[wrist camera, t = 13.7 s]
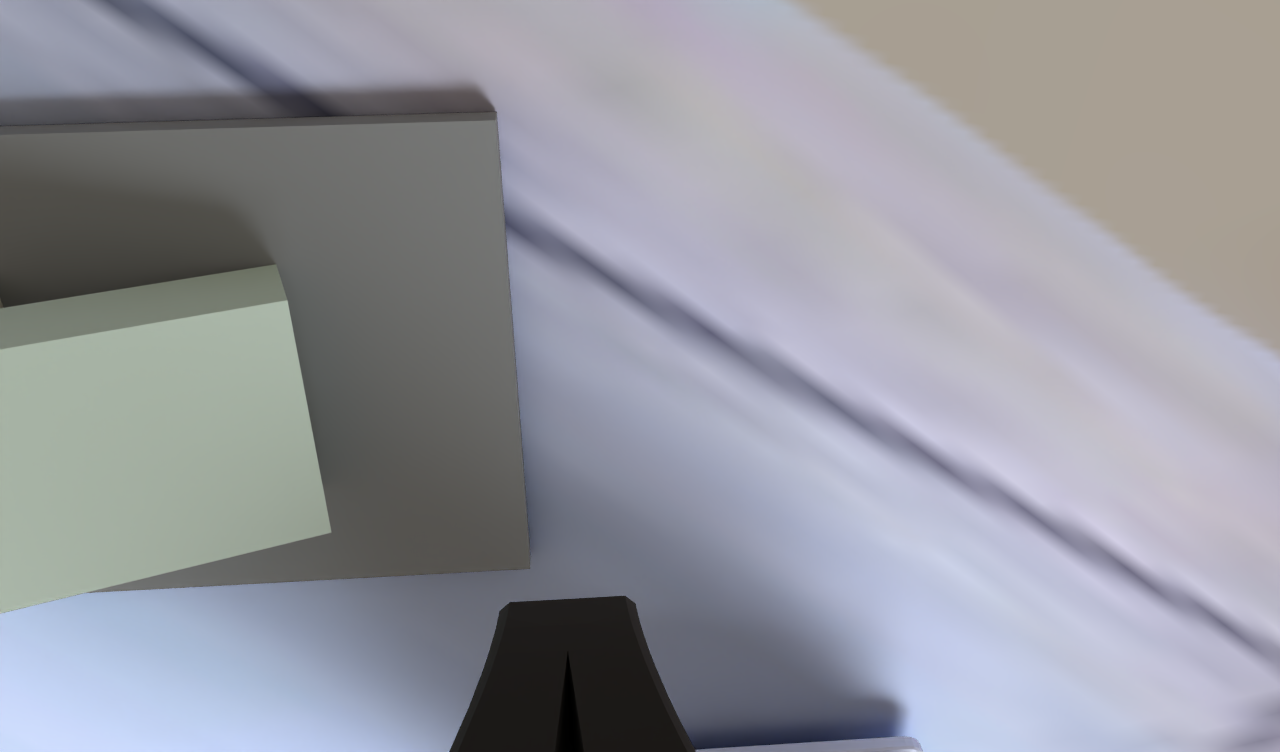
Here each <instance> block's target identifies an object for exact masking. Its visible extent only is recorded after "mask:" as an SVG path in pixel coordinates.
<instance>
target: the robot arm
mask: <svg viewBox="0 0 1280 752" xmlns="http://www.w3.org/2000/svg"><path fill="white" fill-rule="evenodd" d="M449 752H923V751H922V748H921V745H920V743H919V742H918V741H917V740H916V739H914V738H912V737H906V736H899V737H883V738H868V739H852V740H837V741H822V742H806V743H791V744H775V745H760V746H744V747H729V748H713V749H698V750H695V749H694V747H693V745H692V743H691V741H690V739H689V737H688V735H687V733H686V732H685V730H684V728H683V726H682V724H681V722H680V720H679V718H678V716H677V714H676V712H675V710H674V708H673V705H672V703H671V701H670V699H669V697H668V695H667V693H666V690H665V688H664V686H663V683H662V681H661V679H660V676H659V674H658V672H657V669H656V667H655V664H654V662H653V659H652V657H651V654H650V651H649V649H648V646H647V643H646V640H645V637H644V634H643V631H642V628H641V625H640V621H639V618H638V613H637V609H636V604H635V603H634V602H632V601H631V600H630V599H629V598H627V597H626V596H614V597H597V598H579V599H561V600H543V601H525V602H510V603H509V604H507V605H506V606H505V607H504V608H503V609H502V610H501V611H500V612H499V617H498V622H497V626H496V630H495V634H494V637H493V641H492V644H491V648H490V651H489V654H488V657H487V660H486V663H485V666H484V669H483V672H482V675H481V677H480V680H479V682H478V685H477V688H476V690H475V693H474V695H473V698H472V701H471V703H470V706H469V708H468V711H467V713H466V715H465V717H464V720H463V722H462V724H461V726H460V729H459V731H458V733H457V736H456V738H455V740H454V742H453V745H452V747H451V749H450V751H449Z"/></svg>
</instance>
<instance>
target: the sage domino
mask: <svg viewBox="0 0 1280 752" xmlns="http://www.w3.org/2000/svg"><path fill="white" fill-rule="evenodd" d="M328 533H332V532H331V527H330V522H329V517H328V511H327V506H326V501H325V495H324V490H323V485H322V480H321V474H320V469H319V464H318V459H317V453H316V448H315V443H314V438H313V432H312V427H311V422H310V416H309V411H308V406H307V401H306V395H305V390H304V385H303V380H302V374H301V369H300V364H299V359H298V353H297V348H296V343H295V337H294V332H293V327H292V322H291V316H290V311H289V306H288V301H287V297H286V294H285V291H284V288H283V284H282V281H281V278H280V275H279V272H278V268H277V265H276V264H274V265H268V266H262V267H256V268H249V269H243V270H237V271H231V272H225V273H218V274H212V275H206V276H200V277H193V278H187V279H181V280H175V281H168V282H162V283H156V284H150V285H143V286H137V287H131V288H125V289H118V290H112V291H106V292H100V293H93V294H87V295H81V296H75V297H68V298H62V299H56V300H50V301H44V302H37V303H31V304H25V305H19V306H12V307H6V308H0V614H1V613H5V612H9V611H13V610H17V609H21V608H25V607H29V606H33V605H37V604H41V603H46V602H50V601H54V600H58V599H62V598H66V597H70V596H74V595H78V594H82V593H86V592H91V591H95V590H99V589H103V588H107V587H111V586H115V585H119V584H123V583H127V582H131V581H135V580H140V579H144V578H148V577H152V576H156V575H160V574H164V573H168V572H172V571H176V570H180V569H185V568H189V567H193V566H197V565H201V564H205V563H209V562H213V561H217V560H221V559H225V558H230V557H234V556H238V555H242V554H246V553H250V552H254V551H258V550H262V549H266V548H270V547H274V546H279V545H283V544H287V543H291V542H295V541H299V540H303V539H307V538H311V537H315V536H319V535H324V534H328Z"/></svg>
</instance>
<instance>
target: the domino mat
mask: <svg viewBox="0 0 1280 752" xmlns="http://www.w3.org/2000/svg"><path fill="white" fill-rule="evenodd" d="M274 264H276V265H277V268H278V272H279V275H280V278H281V281H282V284H283V288H284V291H285V294H286V297H287V301H288V306H289V311H290V316H291V322H292V327H293V332H294V337H295V343H296V348H297V353H298V359H299V364H300V369H301V374H302V380H303V385H304V390H305V395H306V401H307V406H308V411H309V416H310V422H311V427H312V432H313V438H314V443H315V448H316V453H317V459H318V464H319V469H320V474H321V480H322V485H323V490H324V495H325V501H326V506H327V511H328V517H329V522H330V527H331V532H332V533H328V534H324V535H319V536H315V537H311V538H307V539H303V540H299V541H295V542H291V543H287V544H283V545H279V546H274V547H270V548H266V549H262V550H258V551H254V552H250V553H246V554H242V555H238V556H234V557H230V558H225V559H221V560H217V561H213V562H209V563H205V564H201V565H197V566H193V567H189V568H185V569H180V570H176V571H172V572H168V573H164V574H160V575H156V576H152V577H148V578H144V579H140V580H135V581H131V582H127V583H123V584H119V585H115V586H111V587H107V588H103V589H99V590H95V591H91V592H86V593H93V592H111V591H129V590H148V589H166V588H185V587H203V586H222V585H240V584H258V583H277V582H295V581H314V580H332V579H351V578H369V577H387V576H406V575H424V574H443V573H461V572H480V571H498V570H516V569H530V542H529V529H528V516H527V503H526V490H525V477H524V464H523V451H522V438H521V424H520V411H519V398H518V385H517V372H516V359H515V346H514V333H513V320H512V307H511V294H510V280H509V267H508V254H507V241H506V228H505V215H504V202H503V189H502V176H501V163H500V150H499V137H498V123H497V112H471V113H437V114H402V115H368V116H334V117H299V118H265V119H231V120H196V121H162V122H128V123H93V124H59V125H25V126H0V299H1V302H2V305H3V308H6V307H12V306H19V305H25V304H31V303H37V302H44V301H50V300H56V299H62V298H68V297H75V296H81V295H87V294H93V293H100V292H106V291H112V290H118V289H125V288H131V287H137V286H143V285H150V284H156V283H162V282H168V281H175V280H181V279H187V278H193V277H200V276H206V275H212V274H218V273H225V272H231V271H237V270H243V269H249V268H256V267H262V266H268V265H274Z"/></svg>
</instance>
